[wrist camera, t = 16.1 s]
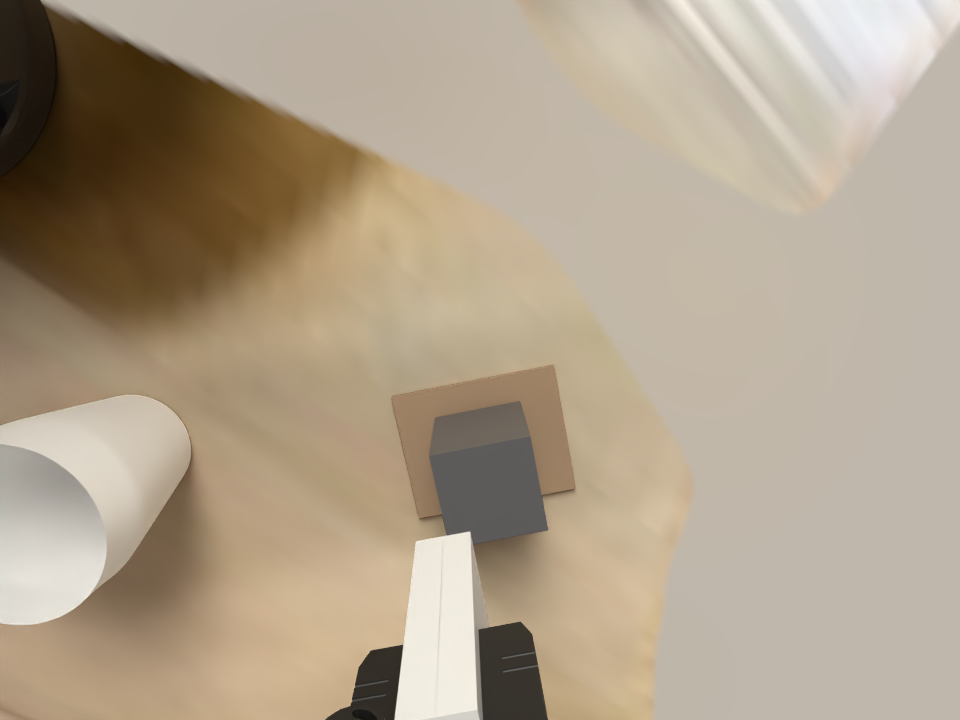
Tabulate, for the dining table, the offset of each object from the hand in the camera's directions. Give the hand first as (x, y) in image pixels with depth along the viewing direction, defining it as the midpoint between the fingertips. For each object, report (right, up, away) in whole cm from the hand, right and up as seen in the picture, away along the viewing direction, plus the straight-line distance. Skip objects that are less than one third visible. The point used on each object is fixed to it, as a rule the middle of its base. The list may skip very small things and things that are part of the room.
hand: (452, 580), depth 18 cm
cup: (-20, +1, +23) cm, 31 cm away
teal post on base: (+1, +1, +23) cm, 23 cm away
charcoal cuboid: (+1, +1, +22) cm, 22 cm away
